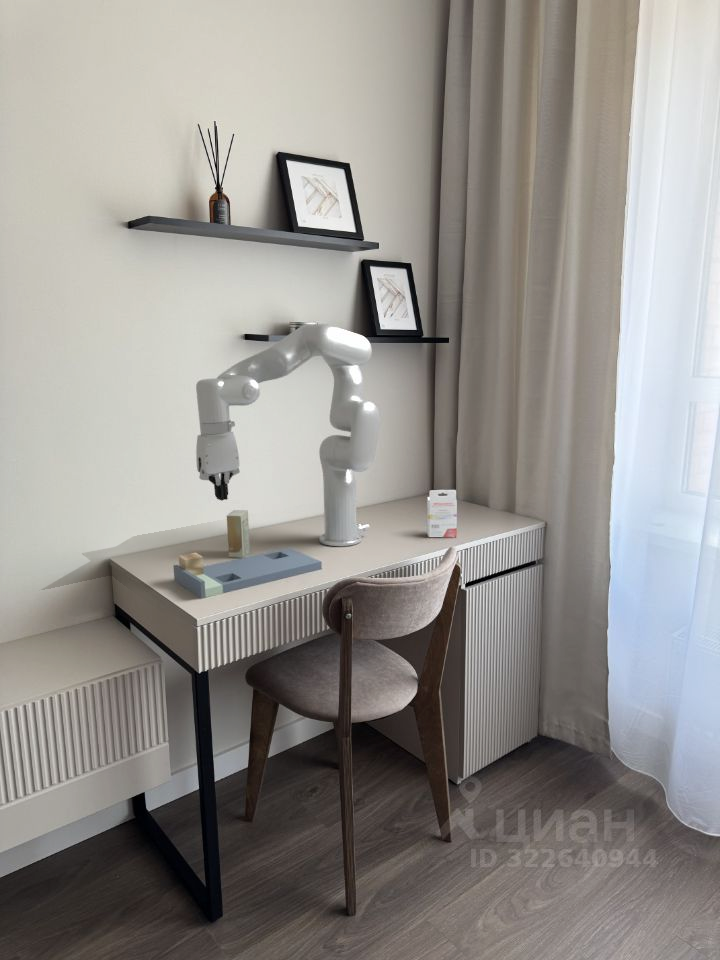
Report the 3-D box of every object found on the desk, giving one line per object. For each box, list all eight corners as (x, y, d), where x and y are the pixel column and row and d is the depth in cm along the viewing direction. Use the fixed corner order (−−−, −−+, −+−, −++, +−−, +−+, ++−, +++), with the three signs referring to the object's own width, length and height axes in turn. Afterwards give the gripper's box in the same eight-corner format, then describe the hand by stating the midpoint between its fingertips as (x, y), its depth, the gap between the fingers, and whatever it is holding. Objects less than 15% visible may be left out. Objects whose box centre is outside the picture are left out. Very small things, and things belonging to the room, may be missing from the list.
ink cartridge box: (454, 533, 219) (455, 486, 216) (456, 537, 214) (457, 490, 212) (426, 533, 219) (427, 486, 216) (428, 538, 214) (428, 490, 211)
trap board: (289, 554, 200) (289, 540, 199) (321, 568, 187) (321, 554, 187) (174, 580, 180) (173, 565, 179) (201, 598, 167) (200, 582, 167)
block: (196, 569, 182) (195, 552, 181) (203, 574, 178) (202, 556, 177) (179, 572, 179) (178, 555, 179) (186, 577, 176) (185, 560, 175)
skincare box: (235, 551, 204) (233, 509, 202) (250, 551, 203) (248, 509, 201) (228, 557, 198) (225, 515, 195) (243, 558, 197) (241, 515, 195)
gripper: (235, 423, 186) (241, 491, 190) (181, 431, 178) (188, 502, 182) (249, 426, 180) (254, 496, 185) (194, 434, 172) (201, 507, 176)
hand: (222, 498), depth 183 cm, fingers closed
